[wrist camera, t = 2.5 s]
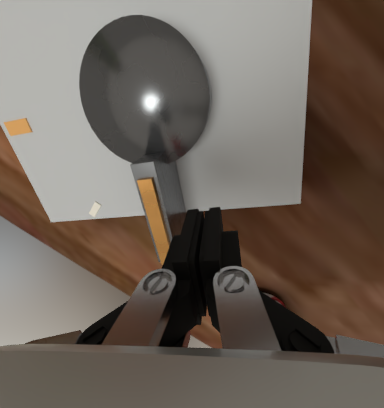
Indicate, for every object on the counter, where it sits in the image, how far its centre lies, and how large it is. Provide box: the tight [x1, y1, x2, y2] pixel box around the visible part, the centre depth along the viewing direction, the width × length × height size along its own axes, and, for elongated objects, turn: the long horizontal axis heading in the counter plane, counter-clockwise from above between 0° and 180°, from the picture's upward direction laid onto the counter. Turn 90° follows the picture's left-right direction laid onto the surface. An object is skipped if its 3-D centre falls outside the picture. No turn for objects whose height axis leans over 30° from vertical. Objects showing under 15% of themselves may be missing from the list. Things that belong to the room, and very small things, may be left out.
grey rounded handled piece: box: [79, 15, 212, 264], centre depth 15 cm, size 16×9×5 cm, turn 10°
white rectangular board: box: [0, 0, 312, 222], centre depth 18 cm, size 26×20×2 cm
